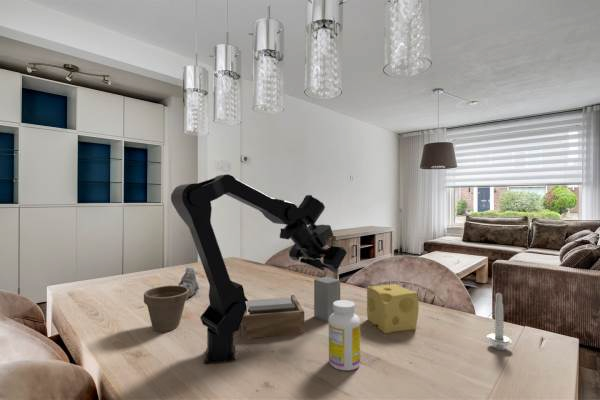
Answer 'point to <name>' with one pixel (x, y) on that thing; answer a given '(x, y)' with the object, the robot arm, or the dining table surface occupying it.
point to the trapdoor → (270, 305)
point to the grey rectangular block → (325, 296)
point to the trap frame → (274, 322)
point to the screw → (499, 326)
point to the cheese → (392, 308)
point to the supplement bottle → (344, 336)
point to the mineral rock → (190, 281)
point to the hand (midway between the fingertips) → (330, 270)
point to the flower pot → (166, 306)
